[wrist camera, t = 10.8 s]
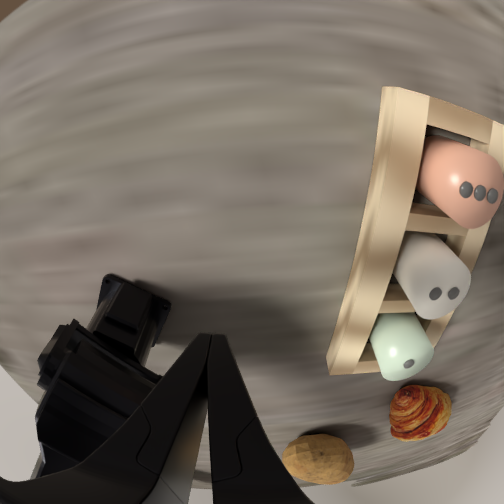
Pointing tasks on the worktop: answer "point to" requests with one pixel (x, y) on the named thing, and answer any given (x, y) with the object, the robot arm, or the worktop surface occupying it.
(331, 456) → the potato
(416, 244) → the key two
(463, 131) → the board
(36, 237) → the worktop surface
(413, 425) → the croissant
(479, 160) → the key three
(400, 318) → the key one
